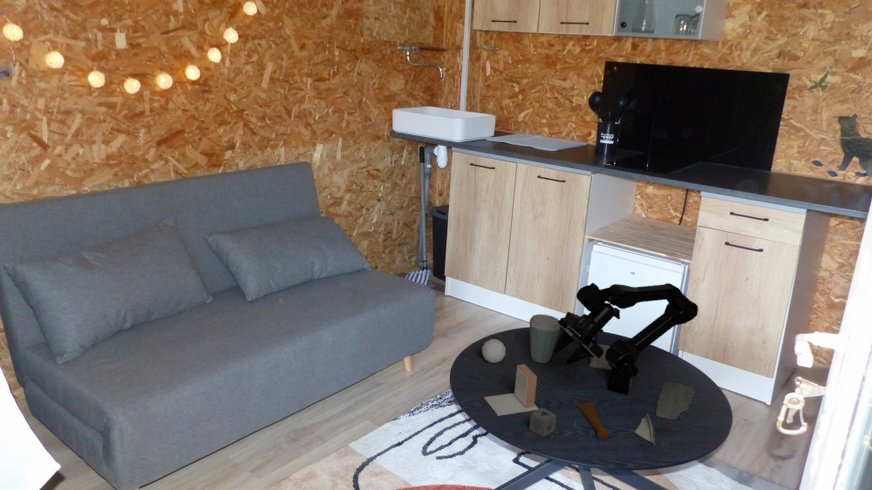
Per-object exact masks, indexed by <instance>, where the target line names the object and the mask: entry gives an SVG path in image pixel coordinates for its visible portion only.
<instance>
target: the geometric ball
mask: <svg viewBox="0 0 872 490" xmlns="http://www.w3.org/2000/svg"><path fill="white" fill-rule="evenodd" d="M481 349H482V350H481V352H482V355H483V358H484V360H486V361H487V362H489V363H493V364H496V363H499V362H501V361H503V360H504V357H505V356H506V347H505V345H504V343H503V342H502V341H500V340H498V339H497V338H491V339H489V340H487V341H485V342H484V344H483V346H482V347H481Z"/></svg>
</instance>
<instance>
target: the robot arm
mask: <svg viewBox="0 0 872 490" xmlns="http://www.w3.org/2000/svg"><path fill="white" fill-rule="evenodd" d="M576 299H577V301H579V302H580V304H581V305H582V306H583V307H584V308H585V309H586V310H587V311H588V312H589V313H588V314H586V313H584V314H582V315H578V314H575V313H574V312H573V313H572V312H570V311H567V312H566V314H565V316H564V317H561V318H560V319H558V320H559V321H558V323H559V324H560V325H561V326H559V328H560V330H559V333H560V335H559V338H557V340H556V343H555V346H554V349H553V353H555V354H557V353H559V352H560V351H561V350H563V349H565V348H566V347H567V346H569V345H570V344H572V343H573V342H575V339H574V337H575V338H576V339H578V340H579V341H578V343H577V347H576V349H575V350H574V351H573V352H572V353H571V355H570V356H569V357H568V358H567V360H566V361H565V363H566V364H567V366H568V365H571V364H574V363H577V362H579V361H582V360H586V359H589V358H591V357H594V356H593V355H595V356H596V357H597V358H600V357H601V356H602V355H603V352H604V350H603V349H602V348H601V347H600V346H599V345H598V344H599V343H598V342H597V343H596V342H595V341H594V340H593V337H594V336H595V335H596V334H597V333H598V334H599V333H601V334H603V333H604V329H603V328H604V327H605V326H606V325H607V324H608V323H609V322H610V320H612V319H613V318H615V319H617V320H620V319H621V314H620V313H621V310H625V309H628V308H632V307H634V306H635V305H636V304H639V303H647V302H656V301H663V300H666V301H667V304H666V307H665V308H664V311H663V313H662V314H661V315H659V316H658V317H657V318H656V319H654V320H653V321H651V322H650V323H649V324H648V325H647V326H645V327H644V328H643V329H641V330H640V331H639V332H637V333H636V334H635V335H634V336H632V337H631V338H630V339H628V340H624V341H623V340H622V339H621V338H619V339H617V340H615V341H614V343H612V344H610V345H608V346H609V347H610V348H608V349H607V351H606V354H605V359H606V361H607V362H608V365H609V366H611V367H612V369H611V370H609V372H608V375H607V382H606V385H607V387H606V390H608V391H612V392H615V393H619V394H622V395H624V396H627V395H629V393H630V392H631V390H632V388H633V384H632V383H633V377H636V376H637V375H638V373H639V369H638V367H636V366H635V363H636V362H637V360H638V357H639V355H640V353H641V352H642V351H644V350H645V349H647V348H648V347H649V346H651V345H652V344H653V343H654V342H656V341H657V340H658V339H659V338H661V337H662V336H663V335H664V334H666V333H667V332H668V331H670V330H671V329H672V328H673V327H675V326H679V325H684V324H687V323H688V322H690V321H692V320H694V319H695V318H696V317H697V316H698V312H699V306H698V304H697V303H695V302H693V301H691V300H690V298H688V297H687V296H686V295H685V294H684V293H683V292H682V291H681V289H680V288H679V287H677V286H676V285H674V284H672V283H669V282H668V283H667V282H666V283H664V284H653V285H646V286H645V285H644V286H630V285H626V284H618V283H614V284H610V286H609V287H606V288H600V287H599V286H598V285H597V284H596V283H594V282H592V283H591V284H589V285H585V286H583V287H580V288H579V289H578V291H577V293H576ZM615 306H616V307H615ZM620 309H621V310H620ZM581 342H582V343H581Z"/></svg>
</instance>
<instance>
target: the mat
mask: <svg viewBox="0 0 872 490" xmlns="http://www.w3.org/2000/svg"><path fill="white" fill-rule="evenodd" d="M514 394H515V392H513V393H506V394H498V395H489V396H484V397H483V398H484V399H483V400H484V401H485V402H486V403H487V404H488V405H489V407H490V406H491V409H492V410H493V412H494V411H495V412H494V413H495V414H496V416H498V417H499V416H506V415H512V414H518V413H526V412H532V411H533V412H534V411H537V410H538V409H539V407H538V406H537V405H536V404H535V403H534V407H532V408H525V406H524V405H523V404H522V403H521V402H520V401H519V400H518V398H517V397H516V396H515V395H514Z"/></svg>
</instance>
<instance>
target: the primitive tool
mask: <svg viewBox="0 0 872 490" xmlns="http://www.w3.org/2000/svg"><path fill="white" fill-rule="evenodd" d="M575 406H576V408H577V409H578V410H579V411H580V412H581V414H582V415H583V416H584V417H585V419H586V420H587V421H588V423H589V424H590V425H591V426H592V428H593V429H594V430H595V432H596V438H598V440H600V441H601V440H607V439H608V438H609V437H610V435H611V434H610V433H611V432H610V431H609V430H608V428H606V427H605V425H604V423H602V422H601V419H600V417H599V416H598V413H597V411H596V409H597V408H596V406H595V405H594V404H593V403H592V402H585V403H584V402H583V403H580V402H579V403H575Z"/></svg>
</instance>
